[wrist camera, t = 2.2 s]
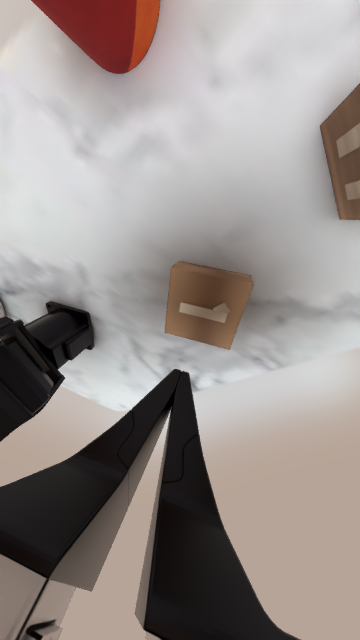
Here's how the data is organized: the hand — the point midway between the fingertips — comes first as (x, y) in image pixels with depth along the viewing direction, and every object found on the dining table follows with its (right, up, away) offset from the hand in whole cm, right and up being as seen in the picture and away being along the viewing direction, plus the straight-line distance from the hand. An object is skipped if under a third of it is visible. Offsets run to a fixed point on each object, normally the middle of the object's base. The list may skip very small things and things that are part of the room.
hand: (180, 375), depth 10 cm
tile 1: (+3, +5, +9) cm, 11 cm away
